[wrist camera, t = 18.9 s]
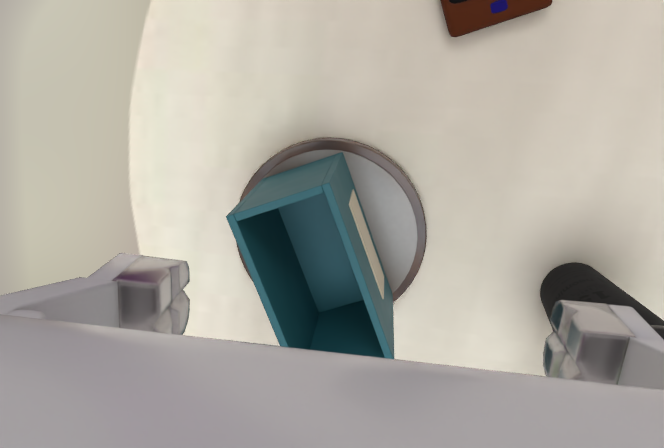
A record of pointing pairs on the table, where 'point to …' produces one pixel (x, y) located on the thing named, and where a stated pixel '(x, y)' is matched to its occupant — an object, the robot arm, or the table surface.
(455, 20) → the smartphone
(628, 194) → the table surface
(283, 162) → the disc
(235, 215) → the bin
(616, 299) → the drinking cup
